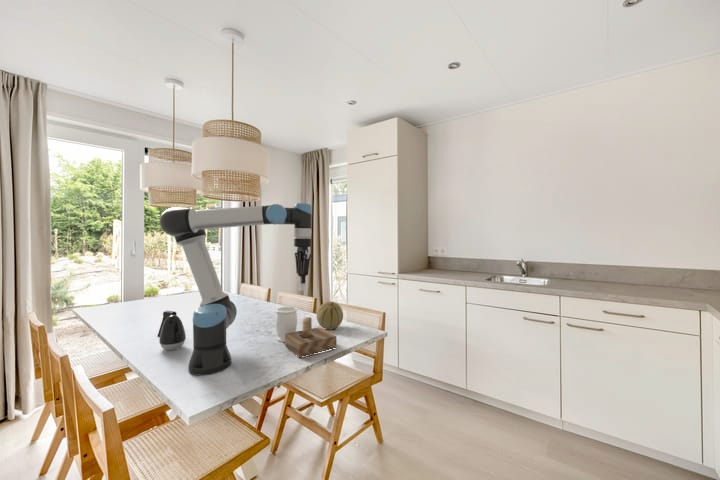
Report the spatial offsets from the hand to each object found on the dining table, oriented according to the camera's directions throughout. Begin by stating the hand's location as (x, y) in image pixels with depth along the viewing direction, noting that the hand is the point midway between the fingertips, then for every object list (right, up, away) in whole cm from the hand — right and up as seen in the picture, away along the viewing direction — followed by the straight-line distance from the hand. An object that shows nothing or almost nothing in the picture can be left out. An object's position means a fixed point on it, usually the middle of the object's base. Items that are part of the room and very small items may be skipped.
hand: (302, 290), depth 139 cm
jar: (-10, -27, +13) cm, 31 cm away
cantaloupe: (+10, -26, +30) cm, 41 cm away
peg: (+2, -25, 0) cm, 25 cm away
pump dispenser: (-59, -27, 0) cm, 64 cm away
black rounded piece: (-71, -26, +19) cm, 79 cm away
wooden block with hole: (+4, -27, +2) cm, 27 cm away
